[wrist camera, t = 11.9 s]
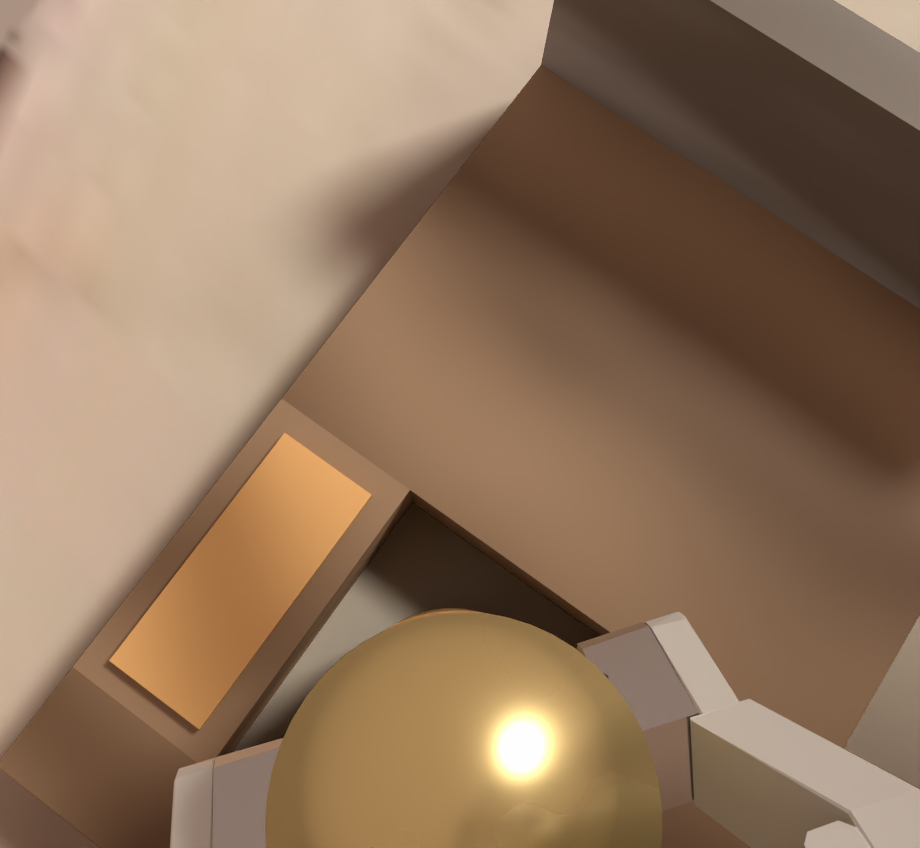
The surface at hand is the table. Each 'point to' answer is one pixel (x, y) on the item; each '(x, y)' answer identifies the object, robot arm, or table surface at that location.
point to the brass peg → (464, 746)
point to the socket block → (582, 401)
